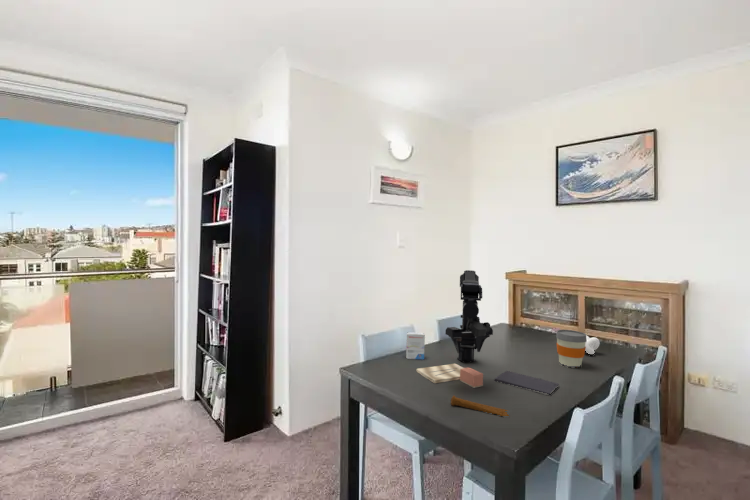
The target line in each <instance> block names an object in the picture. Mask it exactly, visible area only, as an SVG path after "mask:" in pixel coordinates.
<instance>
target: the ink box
mask: <svg viewBox="0 0 750 500" xmlns="http://www.w3.org/2000/svg"><path fill="white" fill-rule="evenodd" d="M425 335H426V334H425V332H413V331H412V332H411V331H410V332H409V331H408V332H406V346H405V347H406V353H405V357H406V359H409V360H425V348H426V347H425V343H426V342H425V338H426V337H425Z"/></svg>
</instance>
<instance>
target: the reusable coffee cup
mask: <svg viewBox="0 0 750 500" xmlns="http://www.w3.org/2000/svg"><path fill="white" fill-rule="evenodd" d="M586 335H587V334H586V333H584V332H581V331H577V330H572V329H571V330H570V329H558V330H557V331H556V336H555V338H556V343H555V344H556V351H557V354H558V363H559V362H560V363H561V364H564V365H567V366H580V365H581V366H582V363H583V358H584V357H585V355H586V352H585V349H586V347H585V343H586V341H587V340H586Z"/></svg>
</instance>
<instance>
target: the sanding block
mask: <svg viewBox="0 0 750 500" xmlns="http://www.w3.org/2000/svg"><path fill="white" fill-rule="evenodd" d="M483 380H484V373H483V372H481V371H478V370H476V369H473V368H471V367H463V369H460V379H459V381H460V382H461V383H464V384H466V385H467V386H469V387H471V388H473V389H476V388H479V387H484V381H483Z"/></svg>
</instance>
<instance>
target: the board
mask: <svg viewBox="0 0 750 500" xmlns="http://www.w3.org/2000/svg"><path fill="white" fill-rule="evenodd" d="M463 368H464V367H463V366H460V365H459V364H457V363H450V364H444V365H443V364H442V365H435V366H427V367H420V368H416V372H417V373H418V374H420V375H421V376H422V377H424V378H425V379H426V380H428V381H430V382H431V383H433V384H439V383H445V382H451V381H452V382H453V381H457V380H459V381H460V369H463Z"/></svg>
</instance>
